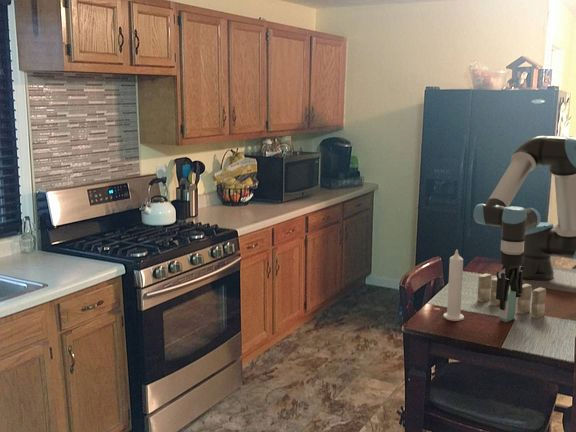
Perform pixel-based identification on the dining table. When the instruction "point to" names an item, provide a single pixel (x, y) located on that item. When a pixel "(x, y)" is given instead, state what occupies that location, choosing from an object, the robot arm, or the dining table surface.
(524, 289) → the tile
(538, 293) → the tile
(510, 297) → the tile
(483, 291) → the light brown flat block
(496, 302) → the tile
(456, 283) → the white post
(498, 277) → the robot arm
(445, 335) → the dining table surface
